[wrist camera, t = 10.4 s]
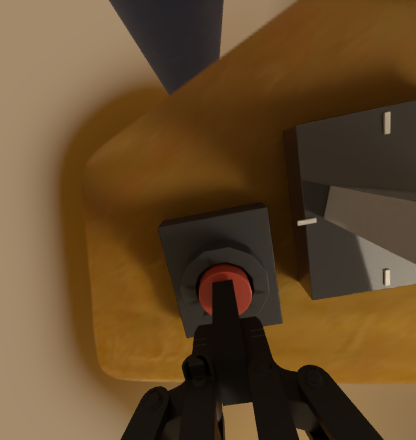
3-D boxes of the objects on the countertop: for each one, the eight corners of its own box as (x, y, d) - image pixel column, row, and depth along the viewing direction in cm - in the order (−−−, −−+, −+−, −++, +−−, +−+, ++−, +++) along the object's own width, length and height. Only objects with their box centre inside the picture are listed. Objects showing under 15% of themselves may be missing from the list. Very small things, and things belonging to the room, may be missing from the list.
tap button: (162, 220, 20) (151, 234, 16) (261, 202, 20) (273, 211, 16) (188, 322, 23) (184, 354, 19) (276, 308, 22) (289, 338, 18)
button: (195, 265, 18) (193, 276, 16) (244, 257, 18) (247, 267, 16) (205, 308, 19) (204, 322, 17) (251, 300, 19) (255, 314, 17)
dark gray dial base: (275, 132, 18) (287, 126, 15) (444, 97, 17) (493, 83, 14) (292, 283, 22) (305, 303, 19) (434, 259, 21) (473, 276, 18)
